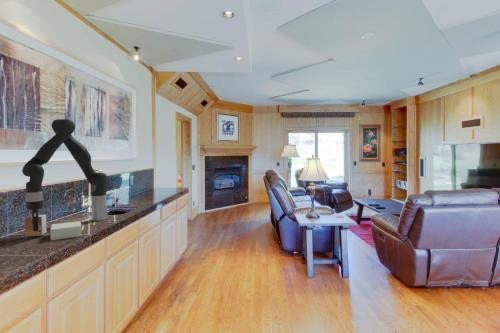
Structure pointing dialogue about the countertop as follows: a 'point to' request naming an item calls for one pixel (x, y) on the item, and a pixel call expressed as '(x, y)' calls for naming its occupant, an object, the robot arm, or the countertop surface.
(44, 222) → the small box
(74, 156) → the robot arm
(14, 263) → the countertop surface
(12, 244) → the countertop surface
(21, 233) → the countertop surface
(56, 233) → the block
